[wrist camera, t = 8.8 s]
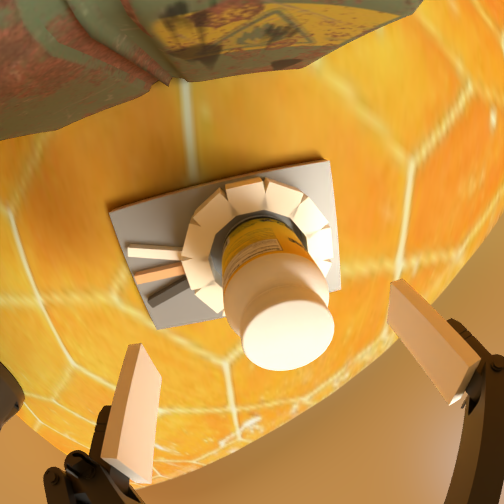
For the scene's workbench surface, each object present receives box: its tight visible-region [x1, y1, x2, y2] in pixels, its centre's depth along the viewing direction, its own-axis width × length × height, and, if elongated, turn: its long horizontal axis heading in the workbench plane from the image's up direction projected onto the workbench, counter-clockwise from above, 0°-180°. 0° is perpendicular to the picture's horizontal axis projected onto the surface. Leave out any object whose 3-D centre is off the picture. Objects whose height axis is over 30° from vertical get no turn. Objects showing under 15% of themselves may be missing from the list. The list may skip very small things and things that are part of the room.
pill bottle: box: [222, 215, 334, 371], centre depth 18 cm, size 6×6×11 cm
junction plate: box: [109, 159, 341, 330], centre depth 23 cm, size 18×12×3 cm, turn 102°
